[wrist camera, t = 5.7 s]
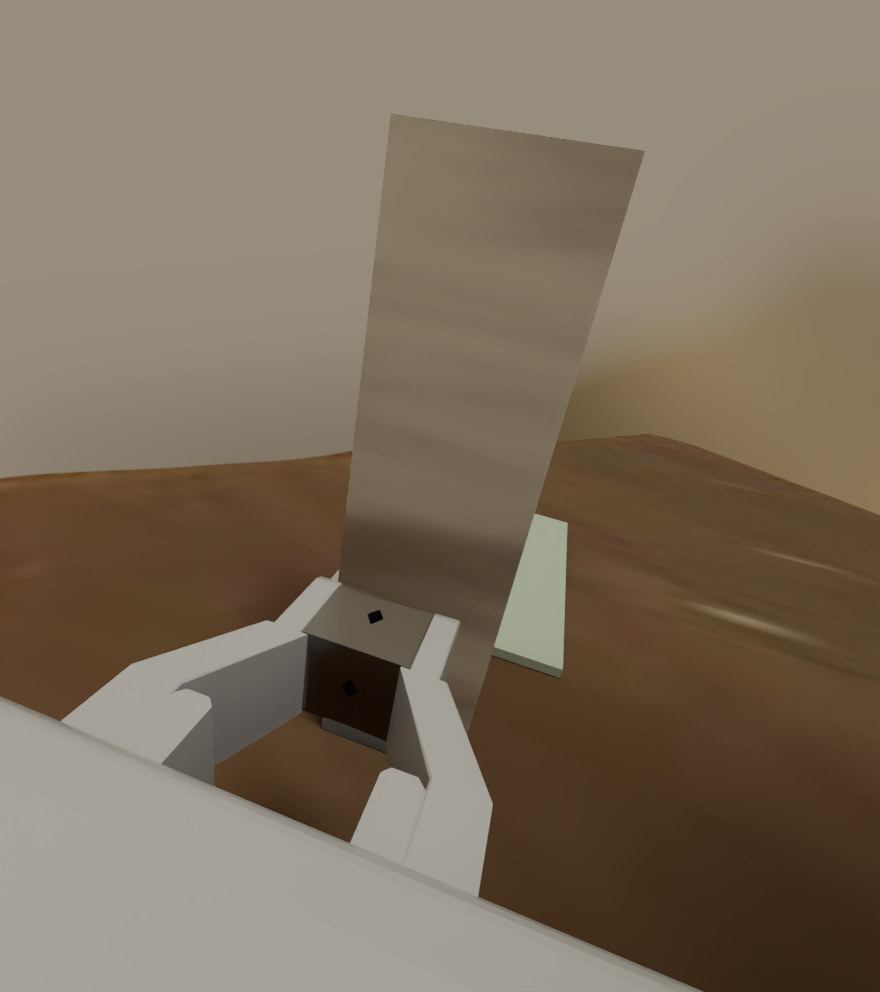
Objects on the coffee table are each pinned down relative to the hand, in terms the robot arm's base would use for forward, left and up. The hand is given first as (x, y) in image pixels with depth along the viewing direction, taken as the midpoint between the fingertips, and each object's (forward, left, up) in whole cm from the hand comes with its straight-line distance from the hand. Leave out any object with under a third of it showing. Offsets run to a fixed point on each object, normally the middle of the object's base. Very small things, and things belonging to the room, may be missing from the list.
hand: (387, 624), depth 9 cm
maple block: (+5, -4, -9) cm, 11 cm away
